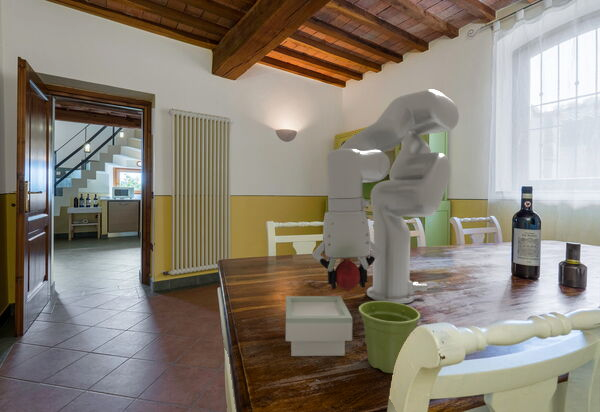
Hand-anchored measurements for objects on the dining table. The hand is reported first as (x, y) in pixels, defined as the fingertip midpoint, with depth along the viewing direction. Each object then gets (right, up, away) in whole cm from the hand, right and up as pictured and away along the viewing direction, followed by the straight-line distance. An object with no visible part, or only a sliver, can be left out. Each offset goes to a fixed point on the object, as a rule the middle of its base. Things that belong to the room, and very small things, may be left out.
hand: (347, 285), depth 67 cm
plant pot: (+4, -8, -19) cm, 21 cm away
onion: (0, -2, 0) cm, 2 cm away
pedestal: (-8, -7, -12) cm, 16 cm away
